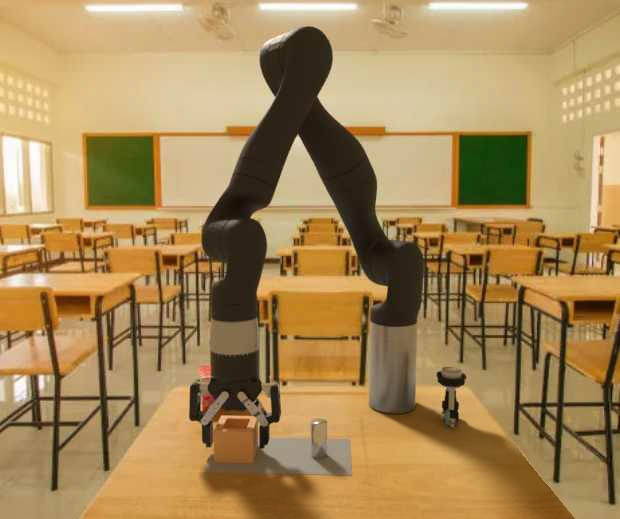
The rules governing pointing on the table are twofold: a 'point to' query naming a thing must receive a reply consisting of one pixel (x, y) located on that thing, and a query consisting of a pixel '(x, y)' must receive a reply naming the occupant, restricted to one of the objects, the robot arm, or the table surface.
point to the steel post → (318, 438)
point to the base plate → (291, 459)
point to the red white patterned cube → (206, 398)
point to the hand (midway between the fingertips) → (235, 445)
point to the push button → (451, 393)
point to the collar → (235, 439)
